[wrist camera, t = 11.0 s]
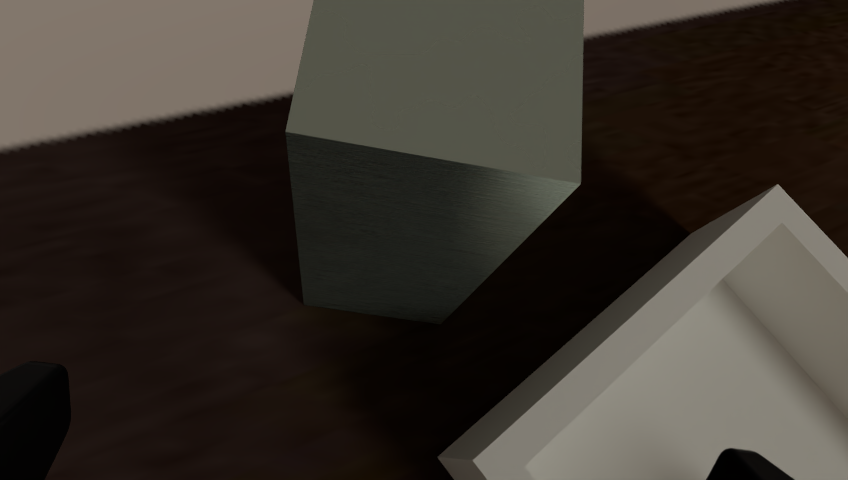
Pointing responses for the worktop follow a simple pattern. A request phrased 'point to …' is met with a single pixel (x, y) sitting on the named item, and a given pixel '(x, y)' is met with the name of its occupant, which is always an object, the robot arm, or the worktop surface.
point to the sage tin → (429, 145)
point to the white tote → (691, 366)
